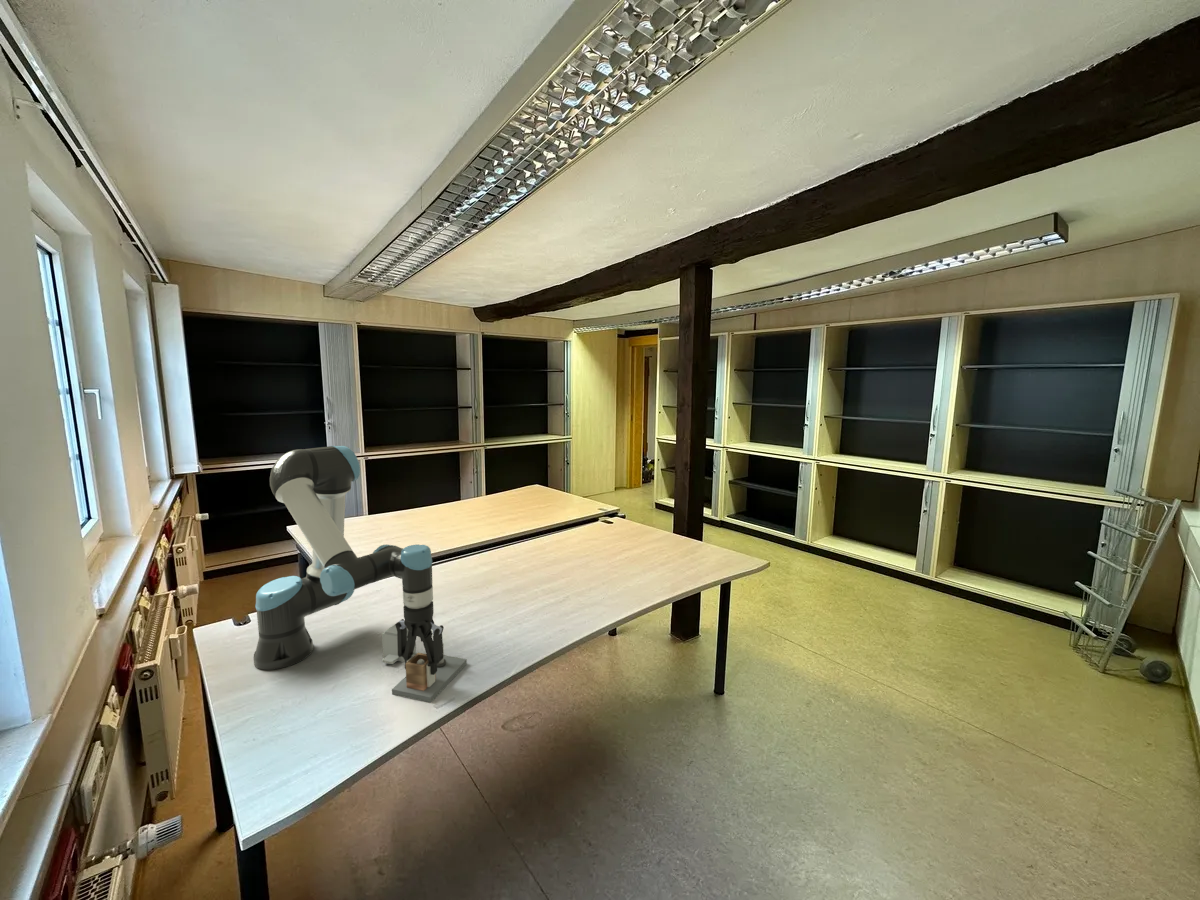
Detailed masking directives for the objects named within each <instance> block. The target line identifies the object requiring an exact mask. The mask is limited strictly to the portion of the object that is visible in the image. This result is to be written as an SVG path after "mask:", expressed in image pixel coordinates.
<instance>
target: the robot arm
mask: <svg viewBox="0 0 1200 900" xmlns="http://www.w3.org/2000/svg"><path fill="white" fill-rule="evenodd" d="M360 473H361V466H360V462H359V460H358V457H357V455H356V453H355V451H354V450H352V448H349V446H346V445H330V446H321V447H312V448H305V449H304V448H303V449H302V448H300V449H298V448H297V449H292V450H290V451H287V452H286V453H284V454H282V455H281V456H280V457H279V458H278V459H277V460H276V461H275V463H274V464H273V466H272V468H271V469H270V476H269V487H270V489H271V492H272V494H273V496H274V497H275V499H276V500H277V502H279V503H282V504H284V505H285V507H286V508H287V510H288V512H289V513H290V515H291V516H292V518H293V521H295V523H296V525H297V526H298V528H299V530H300V531H301V533H302V534H303V536H304V538H305V540H306V541H307V543H308V544H309V545H310V548H311V549H312V558H311V559H312V563H311V564H310V565H308V566H307V568H306V576H305V577H303V578H301V577H300V576H297V575H288V576H282V577H279V578H276V579H273V580H270V581H268V582H267V583H265V584H263V586H261V587H260V588H259V589H258V591H257V592H256V594H255V609H256V617H257V619H256V620H257V629H258V630H257V631H258V641H257V644H256V648H255V651H254V654H253V665H254V667H255V668H257V669H259V670H266V671H269V670H270V671H272V670H278V669H283V668H288V667H289V666H290V667H291V666H292V665H296V664H297V663H299V662H301V661H303V660H305V659H306V658H308V657H309V656H310V655H312V652H313V651H314V643H313V642H314V641H313V639H312V638H311V637H312V636H311V635H310V633H309V631H308V629H307V627H306V624H305V623H306V622H305V621H306V620H305V617H307V616H309V615H312V614H316V613H317V612H321V611H323V610H325V609H328V608H330V607H333V606H338V605H340V604H341V603H343V602H346V601H348V600H349V599H351V597H352V596H353V594H354V592H355V590H357V589H359V588H363V587H365V586H367V585H370V584H374V583H377V582H379V581H382V580H384V579H387V578H390V577H396V578H397V579H401V582H402V599H403V600H402V601H403V602H402V603H403V618H401V619H400V620H399V621H398V622H396V623H394V625H395V626H396V629H397V645H398V656H399V657H403V658H404V660H405V662H404V668H405V670H406V663H407V662H408V661H409V660H410V659H411V658H413V657H414V656H415V655H413V654H414V652H413V651H414V647H415V642H416V641H417V637H418V638H419V640H420V641H421V643H422V644H423V647H424V651H425V654H426V655H427V658H428V662H429V663H428V664H427V665H426V669H427V687H430V686H431V685H432V684H433V683H434V682H435V673H436V672H437V664H438V663H439V662H440V661H441V660H442V659H443V658H444V655H445V654H444V655H443V648H444V643H443V631H444V626H443V625H437V624H435V621H434V618H433V617H434V614H435V612H434V610H435V609H434V601H433V600H434V589H433V588H434V587H433V558H432V550H431V548H430V546H428V545H426V544H411V545H408V546H405V547H404V548H402V547H400V546H397V545H391V544H382V545H379V546H378V547H377V548H375V549H374V550H373V552H372V553H369V554H366V555H362V556H359V557H358V556H357V555H356V553H355V552H354V550H353V549H352V547H351V546H350V544H349V543H348V541H347V540H346V538H345V517H346V515H345V513H346V512H345V511H346V510H345V509H346V494H347V493H349V492H350V491H351V490H352V482H355V481H357V480H358V479H359V477H360V475H361V474H360ZM407 629H408V635H407ZM407 638H408V639H407ZM416 643H417V642H416ZM412 655H413V656H412Z"/></svg>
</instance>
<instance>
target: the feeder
mask: <svg viewBox="0 0 1200 900" xmlns="http://www.w3.org/2000/svg"><path fill="white" fill-rule="evenodd" d="M407 635H408V629H407ZM381 639H382V641H381V645H382V658H383V659H381V662H382V664H383V663H384V664H390V665H394V664H395V663H396V662H397V661H398V662H401V663H402V662H403V663H405V660H404V658H403V657H399V656H398V645H397V629H396V626H395V624H392V626H390V627H389V628H388V629H386V630H385V631H383V632H382V633H381ZM407 639H408V638H407ZM416 643H417V642H415V647H414V651H413V652H414V654H413V655H412V656H415V655H416V654H417V644H416Z"/></svg>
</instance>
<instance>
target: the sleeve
mask: <svg viewBox="0 0 1200 900" xmlns="http://www.w3.org/2000/svg"><path fill="white" fill-rule="evenodd" d="M413 656H414V657H413V658H411V659H410V660H409V661H408V662H407V663H406V669H405V677H406V684H407V688H412V689H417V690H422V691H424V690H425V689H426V688H427V669H426V665H427V664H428V663H429V662H428V658H427V655H426V653H422V652H416V654H415V655H413ZM419 659H423V660H424V662H425V663H424V664H423V665H421V664H417V661H418V660H419ZM435 679H436V673H435Z"/></svg>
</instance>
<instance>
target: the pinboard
mask: <svg viewBox="0 0 1200 900" xmlns="http://www.w3.org/2000/svg"><path fill="white" fill-rule="evenodd" d="M444 651H445V650H444V647H443V655H444V658H443V659H442V660H441V661H440V662H439V663H438V664H437V672H436V679H435V682H434V683H433V684H432V685H431V686H430V687H427V688H426V689H425V690H424V691H422V690H417V689H412V688H407V684H406V676H405V677H403V678H402V679H401V680H400V681H399V682H398V683H397V684H396V685H394V686H393V688H391V694H392V695H395V696H398V697H404V698H407V699H413V700H417V701H421V702H427V703H432V702H433V701H434V700H435V699H436V698H437V697H438V695H439V694H440V693H442V691H443V690H444V689H445V688H446V687H447V686H448V685H449V684H450V682H452V680H453V679H454V678H455V677H456V676H457V675H458V674H459V673H460V672H461V670H463V668H465V666H467V664H468V662H467V661H468V659H466V658H463V657H457V656H451V655H447V654H444V653H445V652H444ZM424 663H425V662H424V660H423V659H419V660H418V661H417V664H421V665H423V664H424Z"/></svg>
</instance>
